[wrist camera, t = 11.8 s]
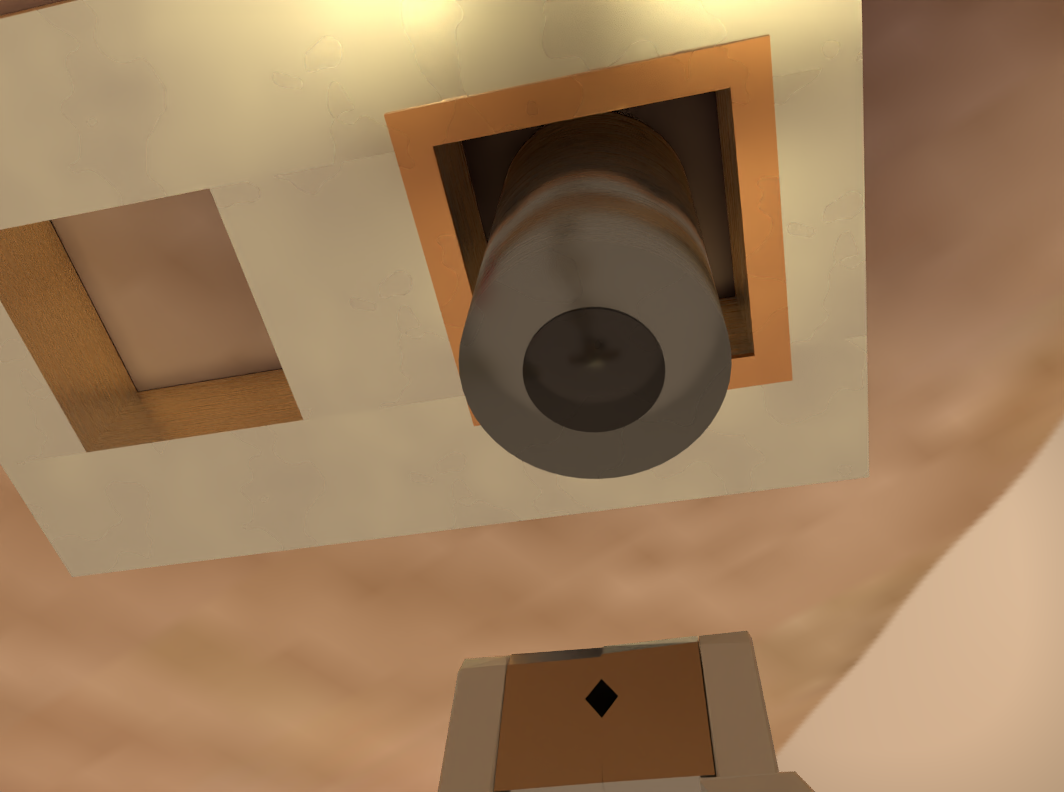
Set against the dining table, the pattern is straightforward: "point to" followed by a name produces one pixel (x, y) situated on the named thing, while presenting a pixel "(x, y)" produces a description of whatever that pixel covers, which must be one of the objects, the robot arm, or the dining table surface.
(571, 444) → the steel sleeve
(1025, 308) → the dining table surface
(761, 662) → the dining table surface
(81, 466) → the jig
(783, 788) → the robot arm
